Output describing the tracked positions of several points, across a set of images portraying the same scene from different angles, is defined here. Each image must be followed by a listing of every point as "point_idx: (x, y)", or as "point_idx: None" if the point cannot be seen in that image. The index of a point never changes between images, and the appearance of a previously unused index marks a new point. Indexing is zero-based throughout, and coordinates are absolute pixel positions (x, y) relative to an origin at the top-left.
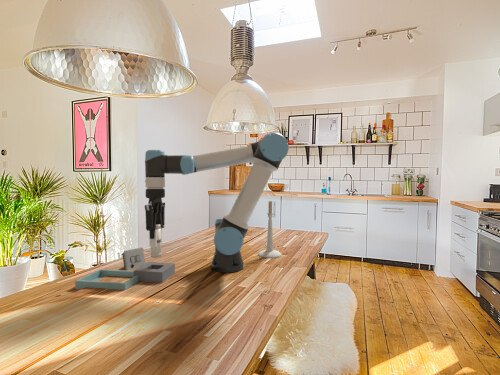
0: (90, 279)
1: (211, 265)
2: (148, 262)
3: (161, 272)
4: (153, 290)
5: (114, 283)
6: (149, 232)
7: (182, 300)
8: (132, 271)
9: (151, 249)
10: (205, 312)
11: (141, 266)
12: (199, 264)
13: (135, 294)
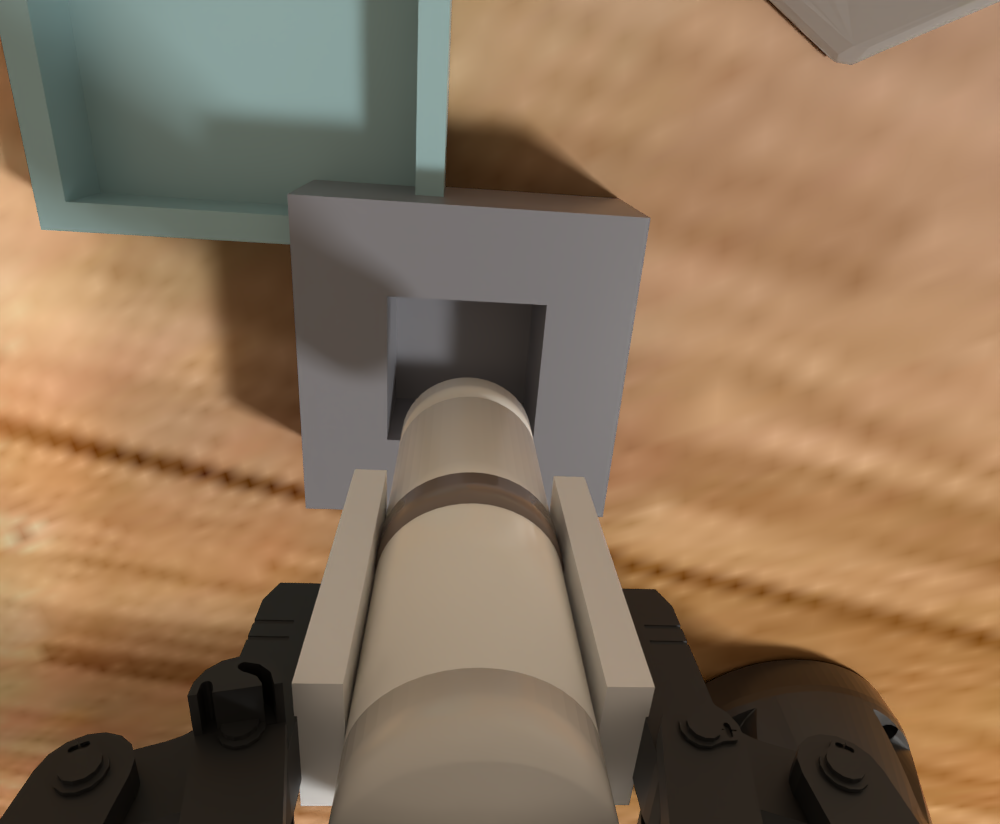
0: None
1: (750, 686)
2: (630, 225)
3: (306, 497)
4: (204, 425)
5: (13, 97)
6: (304, 645)
7: (106, 653)
8: (428, 100)
9: (404, 452)
10: (8, 783)
11: (457, 213)
12: (873, 560)
13: (82, 324)
